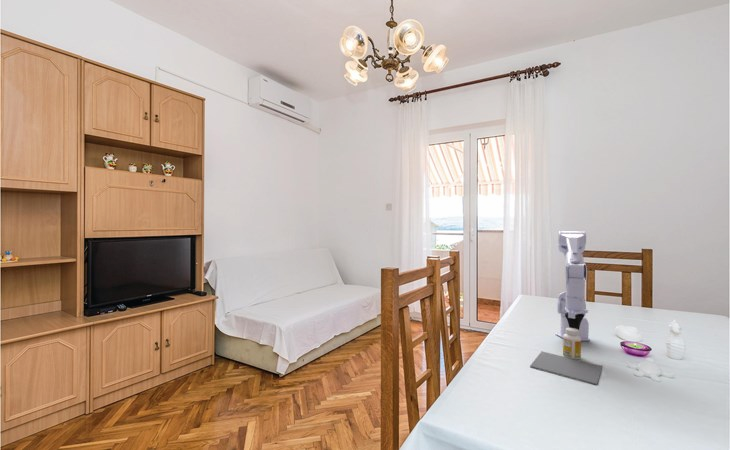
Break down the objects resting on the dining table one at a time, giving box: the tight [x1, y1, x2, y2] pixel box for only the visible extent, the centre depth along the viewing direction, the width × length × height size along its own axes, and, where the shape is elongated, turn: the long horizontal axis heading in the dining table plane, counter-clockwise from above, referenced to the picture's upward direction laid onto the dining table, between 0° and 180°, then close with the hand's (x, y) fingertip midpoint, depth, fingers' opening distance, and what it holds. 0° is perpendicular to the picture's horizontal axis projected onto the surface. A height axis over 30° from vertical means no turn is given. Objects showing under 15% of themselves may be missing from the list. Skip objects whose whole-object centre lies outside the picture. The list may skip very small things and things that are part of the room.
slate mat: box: [529, 350, 603, 386], centre depth 109 cm, size 16×18×1 cm
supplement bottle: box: [562, 328, 582, 360], centre depth 117 cm, size 5×5×10 cm
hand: (574, 333), depth 121 cm, fingers closed
